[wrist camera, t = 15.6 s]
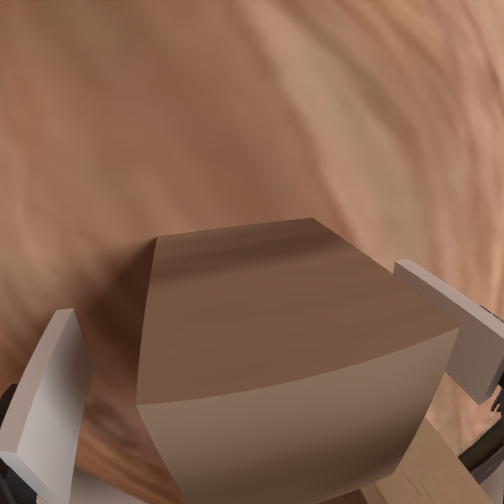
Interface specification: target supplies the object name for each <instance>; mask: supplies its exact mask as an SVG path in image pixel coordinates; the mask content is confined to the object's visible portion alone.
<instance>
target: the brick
mask: <svg viewBox="0 0 504 504" xmlns="http://www.w3.org/2000/svg"><path fill="white" fill-rule="evenodd" d="M459 329H460V326H459V325H458V324H457V323H455V322H454V321H453V320H452V319H450V318H449V317H448V316H447V315H445V314H444V313H443V312H442V311H440V310H439V309H438V308H436V307H435V306H434V305H433V304H431V303H430V302H429V301H428V300H426V299H425V298H424V297H422V296H421V295H420V294H418V293H417V292H416V291H414V290H413V289H412V288H411V287H409V286H408V285H407V284H405V283H404V282H403V281H401V280H400V279H399V278H397V277H396V276H394V275H393V274H392V273H390V272H389V271H388V270H386V269H385V268H384V267H382V266H381V265H379V264H378V263H377V262H375V261H374V260H373V259H371V258H370V257H368V256H367V255H366V254H364V253H363V252H361V251H360V250H359V249H357V248H356V247H354V246H353V245H351V244H350V243H349V242H347V241H346V240H344V239H343V238H341V237H340V236H339V235H337V234H336V233H334V232H333V231H331V230H330V229H328V228H327V227H325V226H324V225H322V224H321V223H319V222H318V221H317V220H315V219H314V218H307V219H298V220H289V221H280V222H271V223H262V224H254V225H245V226H237V227H229V228H221V229H213V230H205V231H197V232H190V233H182V234H175V235H167V236H160V237H157V240H156V246H155V251H154V257H153V263H152V268H151V275H150V281H149V287H148V294H147V300H146V307H145V315H144V322H143V330H142V339H141V347H140V357H139V367H138V378H137V390H136V404H135V406H136V408H137V410H138V412H139V414H140V417H141V419H142V421H143V423H144V425H145V427H146V429H147V431H148V433H149V435H150V437H151V439H152V441H153V443H154V445H155V447H156V449H157V451H158V453H159V455H160V457H161V459H162V461H163V462H164V464H165V466H166V468H167V470H168V471H169V473H170V475H171V477H172V478H173V480H174V482H175V484H176V485H177V487H178V489H179V490H180V492H181V494H182V495H183V497H184V499H185V500H186V502H187V503H188V504H317V503H321V502H324V501H327V500H330V499H333V498H336V497H338V496H341V495H344V494H347V493H349V492H352V491H355V490H357V489H360V488H362V487H365V486H367V485H370V484H372V483H374V482H377V481H379V480H381V479H383V478H386V477H388V476H390V475H392V474H393V473H394V472H395V470H396V468H397V467H398V465H399V463H400V462H401V460H402V458H403V456H404V455H405V453H406V451H407V449H408V447H409V446H410V444H411V442H412V440H413V438H414V436H415V434H416V433H417V431H418V429H419V427H420V425H421V423H422V421H423V419H424V417H425V415H426V412H427V410H428V408H429V406H430V404H431V402H432V399H433V397H434V395H435V393H436V390H437V388H438V386H439V383H440V381H441V378H442V376H443V373H444V371H445V368H446V366H447V363H448V361H449V358H450V355H451V352H452V350H453V347H454V344H455V341H456V338H457V335H458V332H459Z"/></svg>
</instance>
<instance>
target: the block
mask: <svg viewBox="0 0 504 504" xmlns="http://www.w3.org/2000/svg"><path fill="white" fill-rule="evenodd" d="M317 504H493V503H492V502H491V500H490V499H489V498H488V496H487V495H486V494H485V492H484V491H483V490H482V488H481V487H480V486H479V484H478V483H477V482H476V481H475V479H474V478H473V477H472V475H471V474H470V473H469V471H468V470H467V469H466V468H465V466H464V465H463V464H462V462H461V461H460V460H459V459H458V457H457V456H456V455H455V453H454V452H453V451H452V450H451V448H450V447H449V446H448V445H447V443H446V442H445V441H444V439H443V438H442V437H441V436H440V434H439V433H438V432H437V431H436V429H435V428H434V427H433V426H432V424H431V423H430V422H429V421H428V420H427V419H426V418H424V419H423V421H422V423H421V425H420V427H419V429H418V431H417V433H416V434H415V436H414V438H413V440H412V442H411V444H410V446H409V447H408V449H407V451H406V453H405V455H404V456H403V458H402V460H401V462H400V463H399V465H398V467H397V468H396V470H395V472H394V473H393V474H392V475H390V476H388V477H386V478H383V479H381V480H379V481H377V482H374V483H372V484H370V485H367V486H365V487H362V488H360V489H357V490H355V491H352V492H349V493H347V494H344V495H341V496H338V497H336V498H333V499H330V500H327V501H324V502H321V503H317Z"/></svg>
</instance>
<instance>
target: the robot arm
mask: <svg viewBox="0 0 504 504" xmlns="http://www.w3.org/2000/svg"><path fill="white" fill-rule="evenodd" d="M393 275H394V276H396V277H397V278H399V279H400V280H401V281H403V282H404V283H405V284H407V285H408V286H409V287H411V288H412V289H413V290H414V291H416V292H417V293H418V294H420V295H421V296H422V297H424V298H425V299H426V300H428V301H429V302H430V303H431V304H433V305H434V306H435V307H436V308H438V309H439V310H440V311H442V312H443V313H444V314H445V315H447V316H448V317H449V318H450V319H452V320H453V321H454V322H455V323H457V324H458V325H459V326H460V329H459V332H458V335H457V338H456V341H455V344H454V347H453V350H452V352H451V355H450V358H449V361H448V363H447V366H446V368H445V372H446V373H447V374H448V375H449V376H450V377H451V378H452V379H453V380H454V381H455V382H456V383H457V384H458V385H459V386H460V387H461V388H462V389H463V390H464V391H465V392H466V393H467V394H468V395H469V396H470V397H471V398H472V399H473V400H474V401H475V402H476V403H477V404H478V405H480V404H482V403H483V402H484V401H486V400H487V399H489V398H490V397H491V396H492V394H493V393H494V391H495V389H496V387H497V385H499V386H501V387H502V389H501V391H500V393H499V394H498V396H497V398H496V400H495V402H494V403H493V405H492V407H491V411H494V409H495V408H496V406H497V404H499V403H500V406H499V407H498V409H497V412H501V419H502V430H503V446H504V321H502V320H501V319H500V320H499V318H498V317H497V316H495V315H494V314H491V312H490V311H488V310H487V309H485V308H484V307H483V306H480V305H478V304H476V303H475V302H473V301H472V300H470V299H469V298H468V297H466V296H465V295H463V294H462V293H460V292H459V291H457V290H456V289H454V288H453V287H451V286H450V285H448V284H447V283H445V282H444V281H442V280H440V279H439V278H437V277H436V276H434V275H433V274H431V273H430V272H428V271H426V270H425V269H423V268H422V267H420V266H419V265H417V264H415V263H414V262H412V261H411V260H409V259H405V260H399V261H395V265H394V272H393ZM93 369H94V363H93V360H92V358H91V355H90V353H89V350H88V348H87V345H86V343H85V340H84V337H83V335H82V332H81V329H80V326H79V324H78V321H77V318H76V315H75V312H74V309H73V308H71V309H61V310H56V311H55V313H54V315H53V317H52V318H51V320H50V322H49V324H48V326H47V328H46V330H45V331H44V333H43V335H42V337H41V339H40V341H39V343H38V345H37V347H36V349H35V351H34V353H33V355H32V357H31V359H30V361H29V363H28V365H27V367H26V369H25V371H24V373H23V376H22V378H21V380H20V382H19V384H12V385H11V386H10V387H9V388H8V389H7V390H6V392H5V393H4V394H3V395H2V398H1V400H0V504H37V503H36V498H37V494H38V495H39V496H40V497H41V498H42V499H43V500H44V501H45V502H47V503H50V504H69V503H70V493H71V484H72V476H73V469H74V462H75V456H76V450H77V444H78V438H79V432H80V427H81V422H82V417H83V412H84V407H85V403H86V398H87V394H88V389H89V385H90V381H91V377H92V373H93ZM503 504H504V497H503Z"/></svg>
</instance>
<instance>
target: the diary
mask: <svg viewBox="0 0 504 504" xmlns="http://www.w3.org/2000/svg"><path fill="white" fill-rule="evenodd" d="M458 459H459V460H460V461H461V462H462V464H463V465H464V466H465V468H466V469H467V470H468V471H469V473H470V474H471V475H472V477H473V478H474V479H475V481H476V482H477V483H478V484H480V483H482V482H483V481H484V480H485V479H486V478H487V477H488V476H490V475H491V474H492V473H493V472H494V471H495V470H496V469H497V468H498V467H499V465H500V464H501V462H502V461H503V460H504V446H503V430H502V419H500V420H499V421H498V422H497V423H495V424H494V425H493V426H492V427H491V428H490V429H489V430H488V431H487V432H486V433H485V434H483V435H482V436H481V437H480V439H479V440H478V441H477V442H476V443H475V444H473V445H472V446H471V447H470V448H469V449H467V450H466V451H465V452H464V453H462V454H461V455H460V456H458Z"/></svg>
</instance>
